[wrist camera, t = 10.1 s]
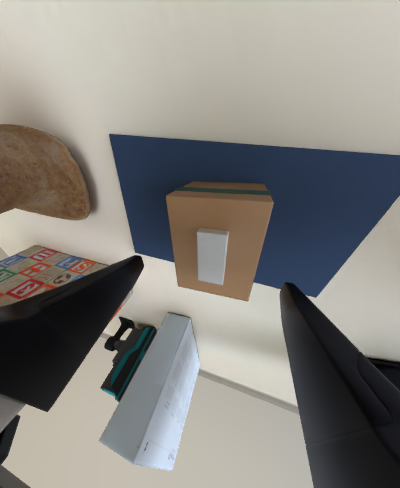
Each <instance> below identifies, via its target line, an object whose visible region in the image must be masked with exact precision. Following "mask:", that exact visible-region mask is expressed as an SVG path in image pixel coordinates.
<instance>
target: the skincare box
mask: <svg viewBox="0 0 400 488" xmlns="http://www.w3.org/2000/svg"><path fill="white" fill-rule="evenodd" d="M199 367H200V362H199V357H198V353H197V348H196V343H195V338H194V334H193V329H192V324H191V319H190V318H187V317H183V316H179V315H175V314H171V313H167V315H166V317H165V318H164V320H163V322H162V324H161V326H160V328H159V330H158V332H157V333H156V335H155V337H154V339H153V341H152V343H151V345H150V347H149V348H148V350H147V352H146V354H145V356H144V358H143V360H142V361H141V363H140V365H139V367H138V369H137V371H136V373H135V374H134V376H133V378H132V380H131V382H130V384H129V385H128V387H127V389H126V391H125V393H124V395H123V397H122V399H121V400H120V402H119V404H118V406H117V408H116V410H115V412H114V413H113V416H112V417H111V419H110V421H109V423H108V425H107V427H106V429H105V430H104V432H103V434H102V436H101V437H100V439H99V441H100V442H101V443H103V444H104V445H105V446H107V447H108V448H110V449H111V450H113V451H114V452H116V453H117V454H119V455H120V456H122V457H123V458H124V459H126V460H127V461H129V462H130V463H132V464H135V465H140V466H146V467H153V468H158V469H164V470H169V471H172V470H173V466H174V462H175V458H176V454H177V451H178V446H179V443H180V439H181V435H182V431H183V427H184V423H185V419H186V416H187V412H188V409H189V405H190V402H191V397H192V392H193V389H194V385H195V382H196V378H197V374H198V370H199Z"/></svg>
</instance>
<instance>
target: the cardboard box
mask: <svg viewBox="0 0 400 488" xmlns="http://www.w3.org/2000/svg"><path fill="white" fill-rule="evenodd" d="M166 201H167V209H168V216H169V223H170V231H171V238H172V245H173V253H174V260H175V268H176V275H177V282H178V286H179V287H184V288H189V289H193V290H198V291H202V292H207V293H211V294H216V295H220V296H225V297H229V298H234V299H238V300H243V301H248V300H249V296H250V292H251V288H252V285H253V281H254V277H255V273H256V269H257V265H258V261H259V258H260V254H261V250H262V246H263V242H264V238H265V235H266V231H267V227H268V223H269V219H270V215H271V212H272V208H273V204H274V202H273V200H272V198H271V193H270V191H268V190H267V188H266V186H265V184H258V183H229V182H200V181H193V182H191V183H189V184H187V185H185V186H183V187H179V188H177V189H175V190H174V192H172V193H170V194H168V195H166Z"/></svg>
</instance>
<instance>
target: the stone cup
mask: <svg viewBox="0 0 400 488" xmlns="http://www.w3.org/2000/svg"><path fill="white" fill-rule="evenodd" d="M14 208H17V209H21V210H25V211H29V212H34V213H38V214H42V215H47V216H51V217H56V218H62V219H67V220H82V219H85V218H87V216H88V215H89V213H90V200H89V194H88V189H87V185H86V182H85V180H84V177H83V175H82V172H81V169H80V167H79V166H78V164H77V162H76V161H75V160H74V159H73V157H72V156H71V154H70V151H69V149H68V148H67V147H66V146H65V144H63V143H62V142H61V141H60V140H59V139H57V138H55V137H53V136H51V135H49V134H46V133H44V132H42V131H39V130H36V129H32V128H29V127H24V126H17V125H7V124H0V214H1V213H3V212H6V211H9V210H11V209H14Z"/></svg>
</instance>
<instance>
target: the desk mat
mask: <svg viewBox="0 0 400 488" xmlns="http://www.w3.org/2000/svg"><path fill="white" fill-rule="evenodd" d="M109 136H110V141H111V145H112V150H113V154H114V159H115V163H116V168H117V173H118V177H119V182H120V186H121V191H122V195H123V200H124V204H125V209H126V213H127V218H128V222H129V227H130V231H131V236H132V240H133V245H134V249H135V253H139V254H143V255H147V256H151V257H155V258H159V259H163V260H167V261H171V262H175V260H174V253H173V245H172V238H171V231H170V223H169V216H168V209H167V201H166V195H168V194H170V193H172V192H174V190H175V189H177V188H179V187H183V186H185V185H187V184H189V183H191V182H193V181H200V182H229V183H258V184H265V186H266V188H267V190H268V191H270V193H271V198H272V200H273V202H274V204H273V208H272V212H271V215H270V219H269V223H268V227H267V231H266V235H265V238H264V242H263V246H262V250H261V254H260V258H259V261H258V265H257V269H256V273H255V277H254V281H253V282H255V283H259V284H263V285H267V286H271V287H275V288H279V289H282V286H283V284H284V282H291V283H294V284H295V285H296V286H297V287H298V288H299V289H300V290H301V291H302V292H303V293H304V294H305V295H307V296H311V297H315V298H316V297H317V296H318V295H319V293H320V292H321V291H322V290H323V289H324V287H325V286H326V285H327V284H328V282H329V281H330V280H331V279H332V278H333V276H334V275H335V274H336V273H337V271H338V270H339V269H340V268H341V267H342V265H343V264H344V263H345V262H346V260H347V259H348V258H349V257H350V256H351V254H352V253H353V252H354V251H355V249H356V248H357V247H358V246H359V245H360V243H361V242H362V241H363V240H364V238H365V237H366V236H367V235H368V233H369V232H370V231H371V230H372V229H373V227H374V226H375V225H376V224H377V222H378V221H379V220H380V219H381V218H382V216H383V215H384V214H385V213H386V211H387V210H388V209H389V208H390V207H391V205H392V204H393V203H394V202H395V200H396V199H397V198H398V197H399V196H400V156H399V155H386V154H372V153H359V152H345V151H332V150H318V149H304V148H291V147H277V146H264V145H250V144H237V143H223V142H210V141H196V140H183V139H169V138H155V137H142V136H128V135H115V134H109Z"/></svg>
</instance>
